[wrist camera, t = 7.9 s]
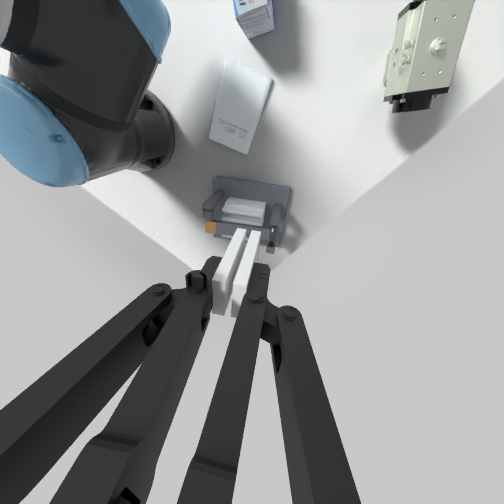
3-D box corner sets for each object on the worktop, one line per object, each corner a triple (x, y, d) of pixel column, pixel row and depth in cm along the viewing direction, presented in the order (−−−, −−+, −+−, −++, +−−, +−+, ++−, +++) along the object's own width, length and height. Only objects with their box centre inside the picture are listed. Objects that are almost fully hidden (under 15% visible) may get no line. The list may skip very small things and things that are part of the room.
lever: (207, 233, 43) (205, 237, 42) (207, 213, 41) (205, 216, 40) (274, 243, 43) (274, 246, 41) (278, 223, 40) (278, 226, 39)
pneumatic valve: (426, 7, 29) (497, -51, 19) (403, 110, 35) (449, 107, 25) (381, 16, 30) (427, -35, 20) (367, 114, 36) (396, 113, 26)
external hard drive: (272, 79, 36) (248, 154, 43) (227, 58, 35) (209, 137, 42) (272, 78, 35) (246, 155, 41) (225, 56, 34) (207, 138, 41)
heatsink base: (215, 233, 53) (201, 256, 44) (215, 176, 46) (198, 190, 37) (279, 244, 52) (276, 269, 43) (290, 186, 44) (290, 204, 36)
